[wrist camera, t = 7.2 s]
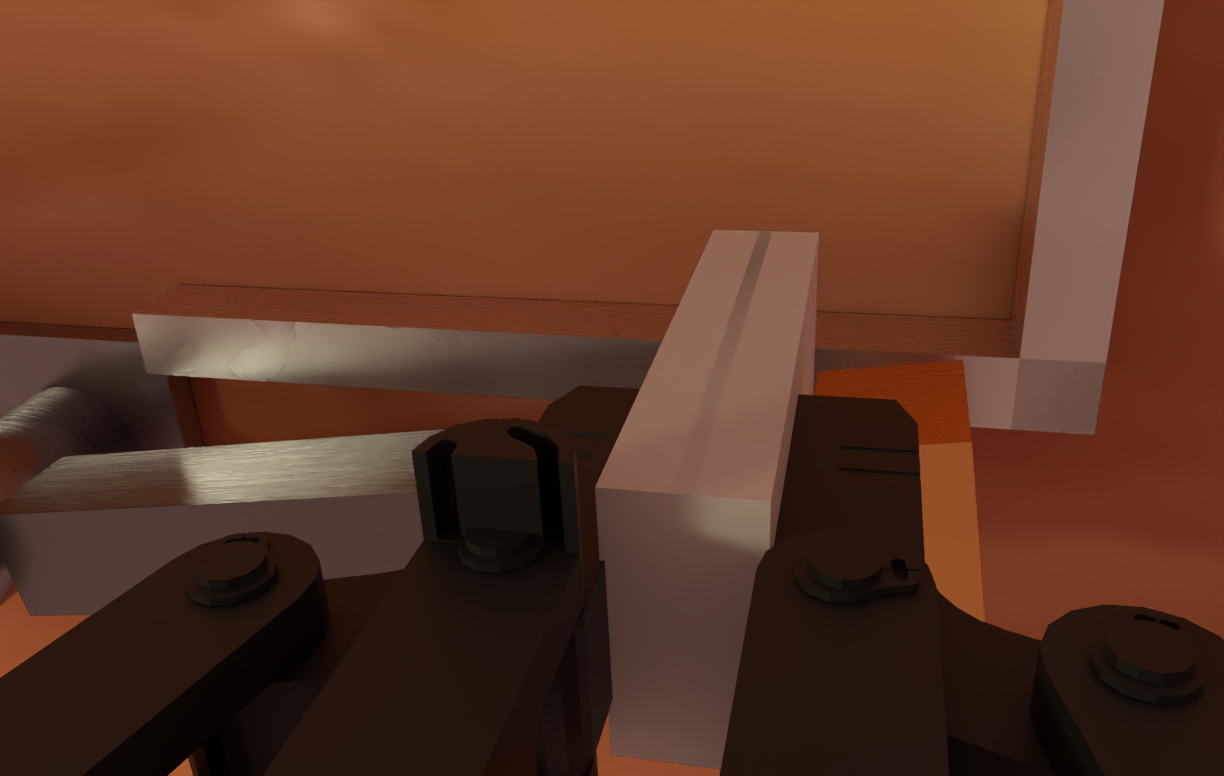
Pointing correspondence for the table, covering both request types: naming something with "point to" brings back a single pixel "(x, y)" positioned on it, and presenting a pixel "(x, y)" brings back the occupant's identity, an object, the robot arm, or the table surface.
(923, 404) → the cable arm
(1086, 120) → the frame
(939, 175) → the table surface
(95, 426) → the post
